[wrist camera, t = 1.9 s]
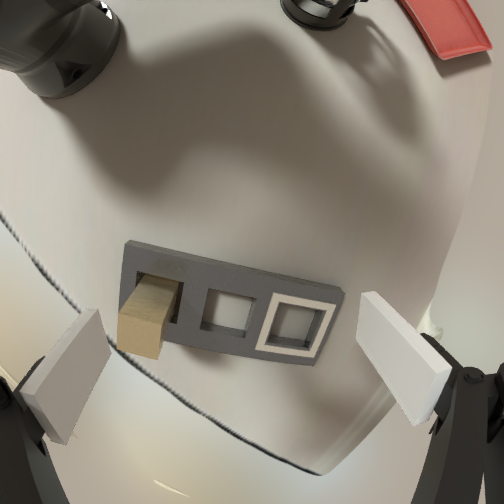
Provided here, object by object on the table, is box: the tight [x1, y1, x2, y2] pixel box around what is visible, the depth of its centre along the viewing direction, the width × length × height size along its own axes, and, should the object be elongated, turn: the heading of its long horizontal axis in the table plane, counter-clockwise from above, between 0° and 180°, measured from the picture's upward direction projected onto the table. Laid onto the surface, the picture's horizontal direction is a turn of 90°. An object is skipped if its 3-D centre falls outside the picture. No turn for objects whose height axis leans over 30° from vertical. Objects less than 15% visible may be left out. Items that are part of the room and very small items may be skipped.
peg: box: [117, 273, 179, 360], centre depth 31 cm, size 4×4×11 cm
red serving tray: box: [400, 0, 493, 60], centre depth 25 cm, size 18×18×3 cm
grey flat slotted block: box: [118, 240, 345, 366], centre depth 37 cm, size 28×12×2 cm, turn 75°
